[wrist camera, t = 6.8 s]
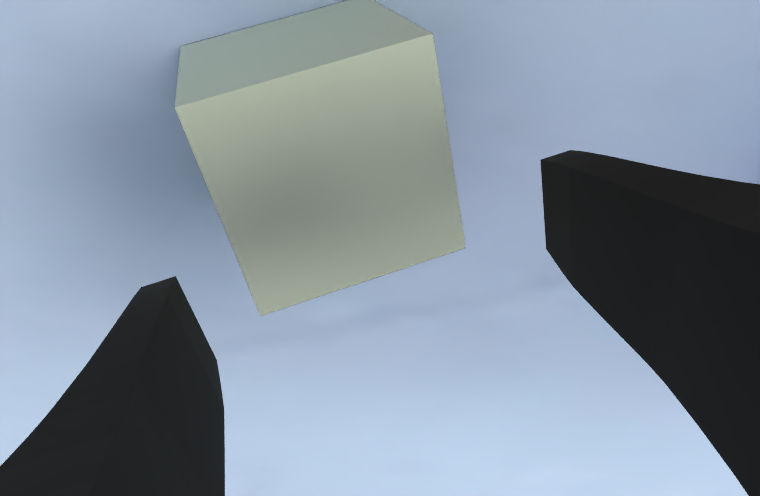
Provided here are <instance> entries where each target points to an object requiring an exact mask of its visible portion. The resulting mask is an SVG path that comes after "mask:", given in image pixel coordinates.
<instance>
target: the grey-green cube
mask: <svg viewBox="0 0 760 496" xmlns="http://www.w3.org/2000/svg"><path fill="white" fill-rule="evenodd" d="M175 110H176V112H177V115H178V117H179V120H180V122H181V125H182V127H183V129H184V132H185V134H186V137H187V139H188V142H189V144H190V146H191V149H192V151H193V154H194V156H195V159H196V161H197V163H198V166H199V168H200V171H201V173H202V176H203V178H204V180H205V183H206V185H207V188H208V190H209V193H210V195H211V197H212V200H213V202H214V205H215V207H216V210H217V212H218V214H219V217H220V219H221V222H222V224H223V227H224V229H225V231H226V234H227V236H228V239H229V241H230V244H231V246H232V248H233V251H234V253H235V256H236V258H237V261H238V263H239V265H240V268H241V270H242V273H243V275H244V278H245V280H246V282H247V285H248V287H249V290H250V292H251V295H252V297H253V299H254V302H255V304H256V307H257V309H258V312H259V314H260V316H262V315H266V314H269V313H272V312H275V311H278V310H281V309H284V308H287V307H290V306H293V305H296V304H299V303H302V302H305V301H308V300H311V299H314V298H317V297H320V296H323V295H326V294H329V293H332V292H335V291H338V290H341V289H344V288H347V287H350V286H353V285H356V284H359V283H362V282H365V281H368V280H371V279H374V278H377V277H380V276H383V275H386V274H389V273H392V272H395V271H398V270H401V269H404V268H407V267H410V266H413V265H416V264H419V263H422V262H425V261H428V260H431V259H434V258H437V257H440V256H443V255H446V254H449V253H452V252H455V251H458V250H461V249H464V248H466V247H465V241H464V234H463V228H462V221H461V214H460V208H459V201H458V195H457V188H456V182H455V175H454V169H453V162H452V156H451V149H450V143H449V136H448V130H447V123H446V117H445V110H444V104H443V97H442V91H441V84H440V77H439V71H438V64H437V58H436V51H435V45H434V38H433V33H431V32H429V31H427V30H426V29H424V28H422V27H420V26H419V25H417V24H415V23H413V22H412V21H410V20H408V19H406V18H405V17H403V16H401V15H399V14H398V13H396V12H394V11H392V10H391V9H389V8H387V7H385V6H384V5H382V4H380V3H378V2H377V1H375V0H347V1H343V2H340V3H336V4H332V5H329V6H325V7H322V8H318V9H314V10H311V11H307V12H303V13H300V14H296V15H293V16H289V17H285V18H282V19H278V20H274V21H271V22H267V23H264V24H260V25H256V26H253V27H249V28H245V29H242V30H238V31H235V32H231V33H227V34H224V35H220V36H216V37H213V38H209V39H206V40H202V41H198V42H195V43H191V44H187V45H184V46H180V57H179V67H178V77H177V88H176V98H175Z"/></svg>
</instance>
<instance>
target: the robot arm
mask: <svg viewBox="0 0 760 496" xmlns="http://www.w3.org/2000/svg"><path fill="white" fill-rule="evenodd" d="M541 173H542V189H543V204H544V220H545V236H546V249H547V251H548V252H549V254H550V255H551V256H552V258H553V259H554V261H555V262H556V264H557V265H558V267H559V268H560V270H561V271H562V272H563V274H564V275H565V276H566V278H567V279H568V280H569V282H570V283H571V284H572V286H573V287H574V288H575V289H576V290H577V291H578V292H579V294H580V295H581V296H582V297H583V298H584V299H585V300H586V301H587V302H588V303H589V304H590V305H591V306H592V307H593V308H594V309H595V310H596V311H597V312H598V313H599V315H600V316H601V317H602V318H603V319H604V320H605V321H606V322H607V323H608V324H609V325H610V326H611V327H612V328H613V329H614V330H615V331H616V332H617V333H618V334H619V335H620V336H621V337H622V338H623V339H624V340H625V341H626V342H627V343H628V344H629V345H630V346H631V347H632V348H633V349H634V350H635V351H636V352H637V353H638V354H639V355H640V356H641V357H642V359H643V360H644V361H645V362H646V363H647V364H648V365H649V366H650V367H651V368H652V369H653V370H654V371H655V372H656V374H657V375H658V376H659V377H660V378H661V379H662V380H663V381H664V383H665V384H666V385H667V386H668V387H669V389H670V390H671V391H672V393H673V394H674V395H675V396H676V398H677V399H678V400H679V402H680V403H681V404H682V405H683V407H684V408H685V409H686V411H687V412H688V413H689V414H690V416H691V417H692V418H693V419H694V421H695V422H696V423H697V425H698V426H699V427H700V429H701V430H702V431H703V433H704V434H705V435H706V437H707V438H708V439H709V441H710V442H711V444H712V445H713V446H714V448H715V449H716V450H717V452H718V453H719V454H720V456H721V457H722V458H723V460H724V461H725V463H726V464H727V465H728V467H729V468H730V469H731V471H732V472H733V473H734V475H735V476H736V478H737V479H738V481H739V482H740V484H741V485H742V487H743V488H744V489H745V491H746V492H747V494H748V495H749V496H760V185H759V184H752V183H744V182H738V181H732V180H726V179H720V178H714V177H707V176H702V175H697V174H691V173H686V172H681V171H676V170H671V169H666V168H662V167H657V166H652V165H647V164H643V163H638V162H634V161H629V160H624V159H620V158H615V157H610V156H605V155H600V154H595V153H589V152H582V151H573V150H570V151H567V152H563V153H560V154H557V155H554V156H551V157H548V158H545V159H542V160H541ZM0 496H225V447H224V405H223V398H222V390H221V384H220V377H219V371H218V365H217V360H216V358H215V356H214V354H213V352H212V350H211V348H210V345H209V343H208V341H207V339H206V337H205V335H204V333H203V331H202V329H201V327H200V325H199V323H198V321H197V319H196V317H195V315H194V313H193V311H192V309H191V307H190V305H189V303H188V301H187V299H186V297H185V294H184V292H183V290H182V288H181V286H180V284H179V282H178V280H177V278H176V276H175V277H172V278H169V279H166V280H163V281H160V282H156V283H153V284H150V285H147V286H144V287H141V288H140V290H139V291H138V292H137V293H136V295H135V296H134V297H133V299H132V300H131V302H130V303H129V304H128V306H127V307H126V309H125V310H124V312H123V313H122V315H121V316H120V317H119V319H118V320H117V322H116V323H115V325H114V326H113V328H112V329H111V331H110V332H109V333H108V335H107V336H106V338H105V339H104V341H103V342H102V343H101V345H100V346H99V348H98V349H97V350H96V352H95V353H94V355H93V356H92V358H91V359H90V360H89V362H88V363H87V365H86V366H85V367H84V368H83V370H82V371H81V372H80V374H79V375H78V376H77V377H76V379H75V380H74V381H73V383H72V384H71V385H70V386H69V388H68V389H67V390H66V392H65V393H64V394H63V395H62V397H61V398H60V399H59V401H58V402H57V403H56V404H55V406H54V407H53V408H52V409H51V411H50V412H49V413H48V414H47V415H46V417H45V418H44V419H43V420H42V421H41V423H40V424H39V425H38V426H37V427H36V428H35V429H34V430H33V432H32V433H31V434H30V435H29V436H28V437H27V438H26V439H25V440H24V442H23V443H22V444H21V445H20V446H19V447H18V448H17V449H16V450H15V451H14V452H13V453H12V454H11V455H10V457H9V458H8V459H7V460H6V461H5V462H4V463H3V464H2V465H1V466H0Z"/></svg>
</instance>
